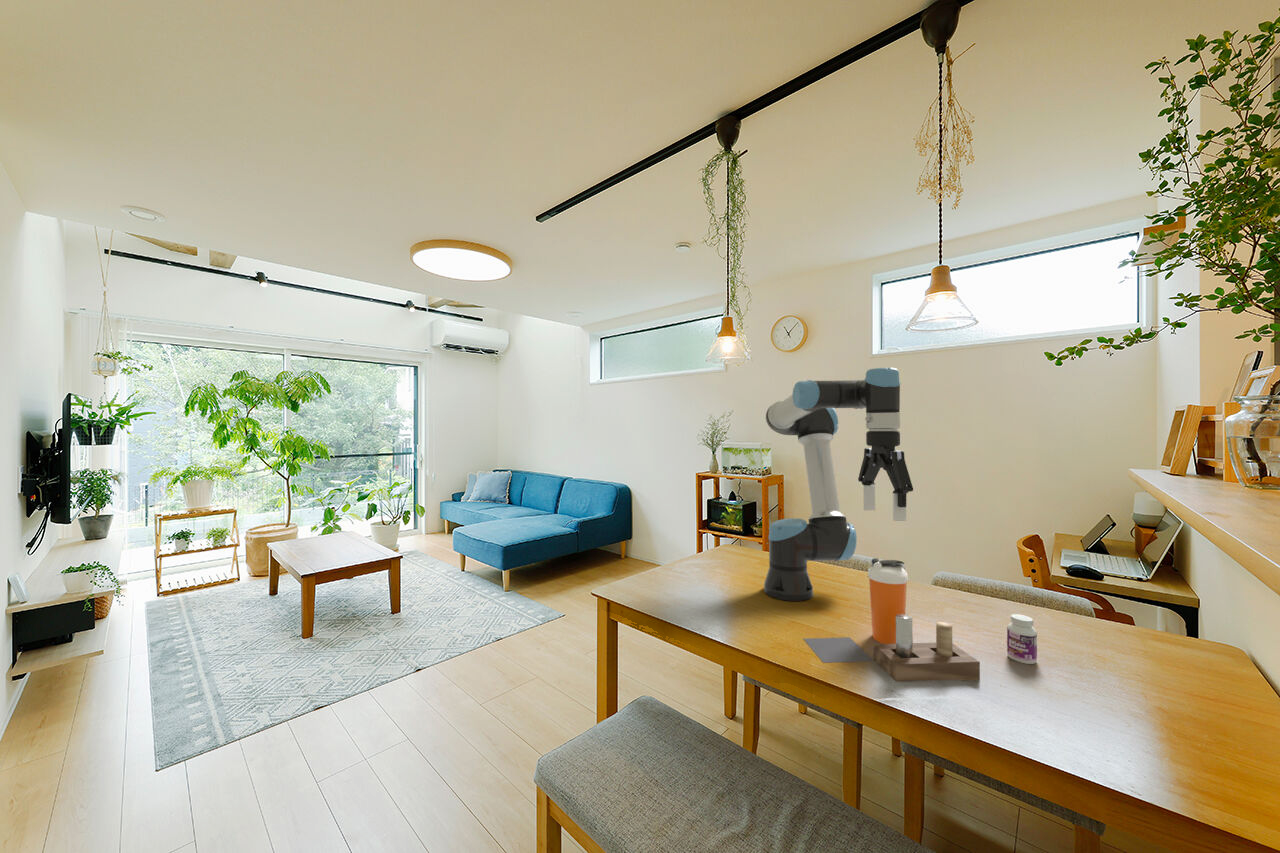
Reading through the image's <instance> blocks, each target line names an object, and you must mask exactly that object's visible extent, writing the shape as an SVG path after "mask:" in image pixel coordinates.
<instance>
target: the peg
mask: <svg viewBox="0 0 1280 853" xmlns="http://www.w3.org/2000/svg"><path fill="white" fill-rule="evenodd" d="M913 630H914V629H913V616H910V615H907V614H905V615H904V614H897V615H896V655H898V656H899V657H900V658H913V643H914V642H913V638H914V637H913Z"/></svg>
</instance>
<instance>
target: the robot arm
mask: <svg viewBox="0 0 1280 853" xmlns="http://www.w3.org/2000/svg"><path fill="white" fill-rule="evenodd" d="M793 386H794V387H793V389H792V394H791V395H789V396H788V397H786V398H785V399H784V400H782V401H777V402H774V403H773V404H772V405H769V407H768V408H767V410H766V413H765V421H766V424H767V425H768V427H769V428H770V429H771V430H772V431H774V432H776V433H778V434H780V435H782V436H783V435H784V436H797V440H798V443H799V444H801V445H802V446H803V451H804V458H805V459H804V460H805V467H806V474H807V482H808V490H809V498H810V504H811V505H810V506H811V511H812V513H811V516H809V518H808V523H807V521H806V520H805V519H802V518H783V519H779V520H778V519H777V520H775V521H774V522H772V523H771V524H770V525H769V529H768V530H769V531H768V547H769V548H768V549H769V552H768V556H769V559H768V560H769V561H768V563H769V568H768V570H767V574H766V576H765V580H764V583H763V591H764V593H765V594H766V595H767V596H769V597H771V598H773V599H778V600H781V601H789V602H790V601H791V602H802V601H806V600H807V601H808V600H810V599H812V597H813V596H814V587H813V584H812V581H811V578H810V575H809V572H808V561H809V562H810V561H811V562H812V561H815V562H817V561H822V562H823V561H834V562H838V561H847V560H849V559H851V558H852V557H853V556H854V554H855V551H856V549H857V541H858V540H857V532H856V529H855V526H854V525H853V524H852V523H849V522H847V521H848V520H847V516H845V515H844V514H843V513H842V512H841V508H840V502H839V497H838V495H839V494H838V489H837V482H836V475H835V469H834V465H833V464H834V463H833V455H832V449H831V442H832V441H833V439H834V435H835V434H836V433H837V432H838V428H839V425H838V424H839V419H838V414H837V411H836V409H856V410H857V409H860V410H861V409H865V412H866V416H865V422H866V424H865V425H866V429H867V430H868V431H866V432H865V433H866V435H865V439H866V444H865V445H866V446H869V447H866V448H864V449H863V450H864V452H863V459H862V464H861V466H860V470H859V474H858V478H857V480H858V482H861V485H863V488H862V489H863V511H876V483H875V480H876V478H877V476H878V474H879V472H880V469H881V468H882V470H884V471H886V474H887V476H888V478H889V480H890V482H891V485H892V487H893V489H894V490H893V491H892V520H893V521H894V522H906V521H907V494H908V493H910V492H914V486H913V484H912V480H911V476H910V474H909V470H908V466H907V462H906V460H905V451H904V450H896V449H895V448H896V447H899V446H900V444H901V432H900V431H899V429H901V413H900V409H901V407H900V406H901V404H900V402H901V400H900V398H901V397H900V396H901V394H900V393H901V382H900V371H899V370H898V369H897V368H895V367H876V368H870V369H868V370H866V372H865V378H864V379H862V380H861V379H856V380H855V379H854V380H853V379H851V380H850V379H847V380H844V379H843V380H812V379H811V380H810V379H809V380H808V379H807V380H801V381H797V382H796V383H795V384H794V385H793Z"/></svg>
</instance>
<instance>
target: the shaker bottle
mask: <svg viewBox="0 0 1280 853" xmlns="http://www.w3.org/2000/svg"><path fill="white" fill-rule="evenodd" d="M903 565H905V562H904V561H902V560H896V559H882V560H880V559H879V558H875V557H874V558H872V559H871V565H870V567H869V568H868V569H867V572H868V573H867V578H868V580H869V581H868V584H869V598H870V614H871V615H870V616H871V632H872V638H873V639H874V640H875V641H876V642H878V643H879V644H896V615H897V614H904V615H906V610H907V608H906V606H907V588H908V587H907V585H908V582H909V580H908V578H909V574H908V573H907V571H906V570H905V569H904V568H903Z"/></svg>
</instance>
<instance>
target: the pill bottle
mask: <svg viewBox="0 0 1280 853" xmlns="http://www.w3.org/2000/svg"><path fill="white" fill-rule="evenodd" d="M1033 626H1034V618H1032V617H1029V616H1027V615H1023V614H1019V613H1018V614H1017V613H1013V614H1010V623H1008V624H1007V627H1006V629H1007V630H1006V635H1007V636H1006V653H1007V656H1008V657H1009V658H1010V659H1012V660H1013V661H1016V662H1017V663H1022V664H1026V665H1033V664H1036V663H1037V661H1038V654H1037V653H1038V632H1037V630H1036V628H1034V627H1033Z"/></svg>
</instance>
